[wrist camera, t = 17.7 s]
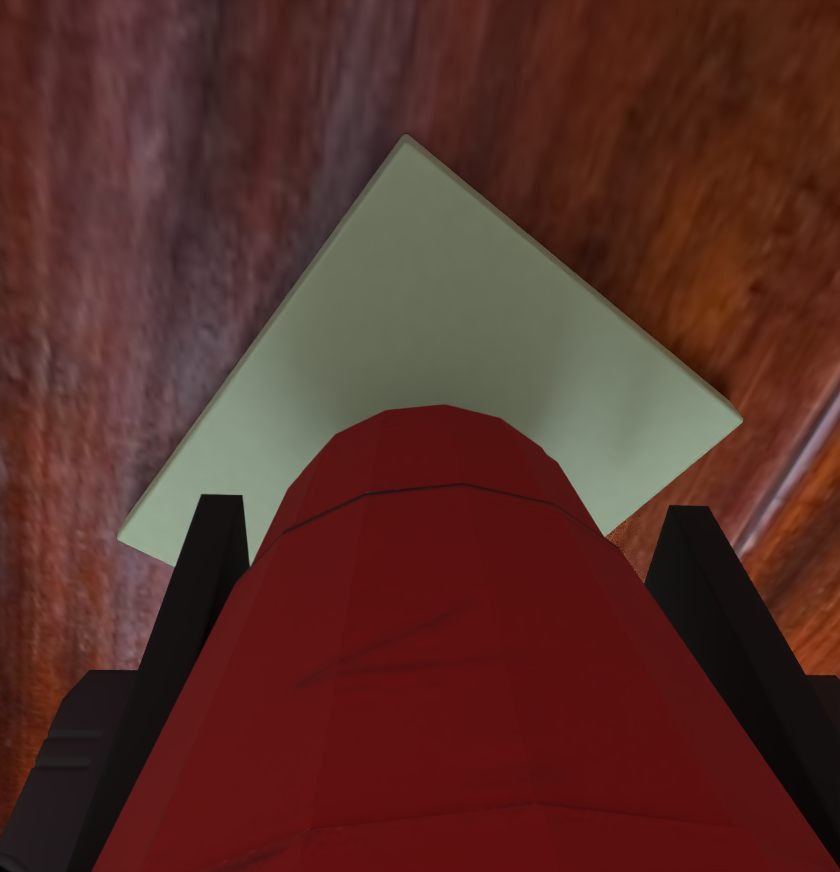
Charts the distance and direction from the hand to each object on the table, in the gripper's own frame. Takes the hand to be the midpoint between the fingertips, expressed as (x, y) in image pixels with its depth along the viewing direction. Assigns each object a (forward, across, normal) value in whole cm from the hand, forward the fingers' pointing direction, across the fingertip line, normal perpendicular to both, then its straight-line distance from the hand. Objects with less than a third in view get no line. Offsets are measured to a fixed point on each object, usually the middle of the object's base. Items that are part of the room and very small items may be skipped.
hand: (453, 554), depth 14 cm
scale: (+4, -1, -1) cm, 4 cm away
